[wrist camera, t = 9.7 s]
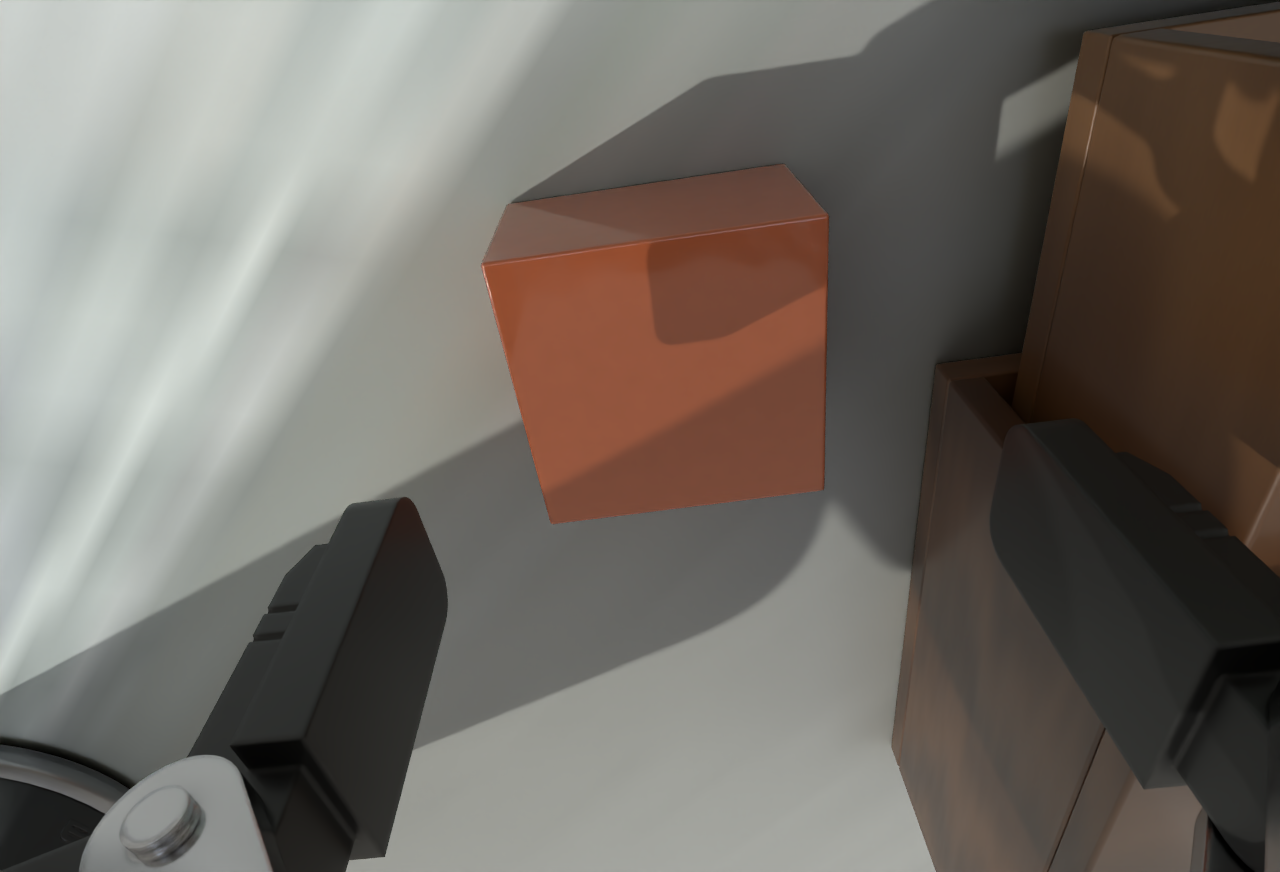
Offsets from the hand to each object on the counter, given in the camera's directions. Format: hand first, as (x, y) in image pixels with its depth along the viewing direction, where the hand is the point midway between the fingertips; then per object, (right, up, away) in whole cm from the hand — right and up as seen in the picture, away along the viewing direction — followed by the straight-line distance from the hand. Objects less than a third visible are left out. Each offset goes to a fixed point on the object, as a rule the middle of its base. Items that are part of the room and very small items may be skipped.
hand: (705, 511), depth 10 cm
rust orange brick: (0, +4, +6) cm, 7 cm away
